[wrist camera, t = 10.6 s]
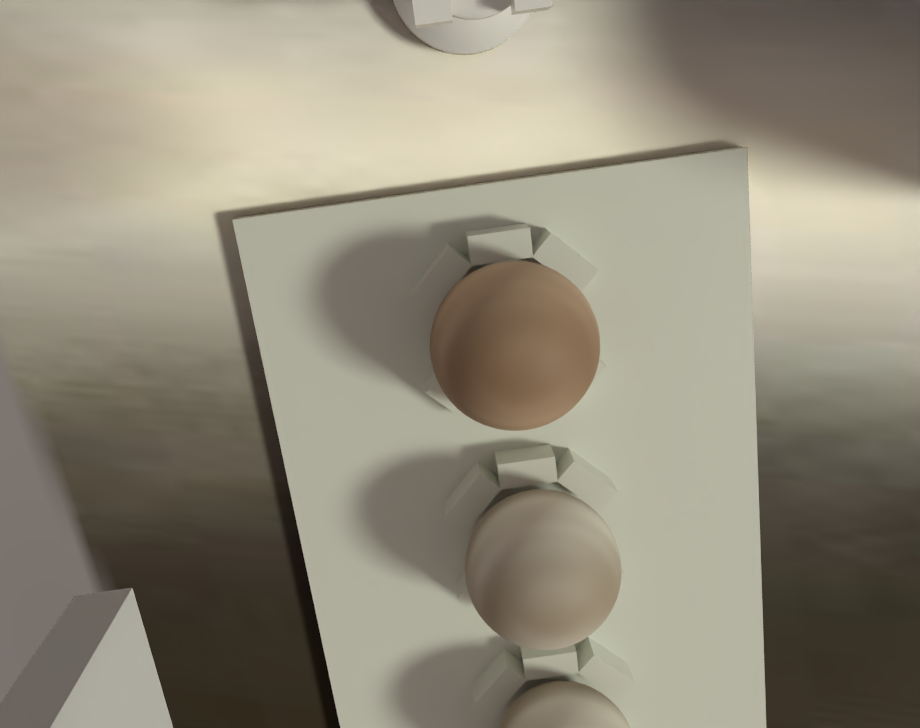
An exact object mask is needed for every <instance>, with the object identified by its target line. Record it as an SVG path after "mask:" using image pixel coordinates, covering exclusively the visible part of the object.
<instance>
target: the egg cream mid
mask: <svg viewBox="0 0 920 728" xmlns="http://www.w3.org/2000/svg"><path fill="white" fill-rule="evenodd" d="M621 577H622V571H621V558H620V553H619V549H618V546H617V543H616V540H615V538H614V536H613V534H612V532H611V530H610V528H609V527H608V525H607V524H606V522H605V521H604V520H603V518H602V517H601V516H600V515H599V514H598V513H597V512H596V511H595V510H594V509H593V508H591V507H590V506H589V505H588V504H587V503H585V502H583V501H582V500H580V499H578V498H576V497H574V496H572V495H569V494H567V493H564V492H560V491H556V490H549V489H536V490H528V491H523V492H519V493H516V494H513V495H511V496H509V497H507V498H505V499H503V500H501V501H500V502H498V503H497V504H495V505H494V506H493V507H492V508H491V509H489V510H488V511H487V513H486V514H485V515H484V516H483V517H482V518H481V520H480V521H479V522H478V524H477V525H476V527H475V529H474V531H473V533H472V535H471V537H470V540H469V543H468V546H467V550H466V555H465V580H466V585H467V589H468V593H469V596H470V599H471V601H472V603H473V605H474V607H475V609H476V611H477V612H478V614H479V615H480V617H481V618H482V619H483V621H484V622H485V623H486V624H487V625H488V626H489V627H490V628H491V629H492V630H493V631H494V632H496V633H497V634H498V635H500V636H501V637H503V638H504V639H506V640H508V641H510V642H511V643H514V644H516V645H519V646H522V647H526V648H530V649H537V650H554V649H560V648H565V647H568V646H571V645H573V644H576V643H578V642H580V641H582V640H583V639H585V638H587V637H588V636H589V635H591V634H592V633H593V632H595V631H596V630H597V629H598V628H599V627H600V626H601V625H602V624H603V622H604V621H605V620H606V619H607V617H608V616H609V614H610V612H611V611H612V609H613V607H614V605H615V602H616V600H617V597H618V594H619V590H620V585H621Z"/></svg>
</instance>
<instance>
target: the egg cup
mask: <svg viewBox="0 0 920 728" xmlns="http://www.w3.org/2000/svg"><path fill="white" fill-rule="evenodd" d="M393 2H394V5H395V8H396V10H397V12H398V14H399V16H400V17H401V19H402V21H403V22H404V24H405V25H406V26H407V27H408V29H409V30H410V31H411V32H412V33H413V34H414V35H415V36H416V37H417V38H418V39H420V40H421V41H422V42H424V43H425V44H427V45H429V46H430V47H432V48H434V49H436V50H439V51H442V52H445V53H450V54H455V55H473V54H478V53H482V52H485V51H488V50H491V49H493V48H495V47H497V46H499V45H500V44H502V43H503V42H505V41H506V40H508V39H509V38H510V37H511V36H512V35H513V34H515V33H516V32H517V31H518V30H519V29H520V27H521V26H522V25H523V24H524V23H525V21H526V20H527V18H528V17H529V15H530V13H531V12H537V11H544V10H549V9H550V8H551V7H552V6H553V3H552V0H393Z"/></svg>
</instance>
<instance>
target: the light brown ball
mask: <svg viewBox="0 0 920 728" xmlns="http://www.w3.org/2000/svg"><path fill="white" fill-rule="evenodd" d="M599 356H600V335H599V328H598V324H597V321H596V318H595V315H594V313H593V311H592V309H591V306H590V304H589V303H588V301H587V299H586V298H585V296H584V295H583V294H582V292H581V291H580V290H579V289H578V288H577V287H576V286H575V285H574V284H573V283H572V282H571V281H570V280H569V279H567V278H566V277H565V276H563V275H562V274H560V273H559V272H557V271H555V270H553V269H551V268H549V267H547V266H544V265H541V264H538V263H533V262H528V261H503V262H498V263H493V264H490V265H487V266H484V267H482V268H480V269H478V270H476V271H473V272H472V273H470V274H469V275H467V276H466V277H464V278H463V279H462V280H460V281H459V282H458V283H457V284H456V285H455V286H454V287H453V288H452V289H451V290H450V291H449V292H448V294H447V295H446V296H445V298H444V299H443V301H442V302H441V304H440V306H439V308H438V310H437V312H436V315H435V318H434V321H433V324H432V329H431V334H430V358H431V362H432V367H433V371H434V374H435V376H436V379H437V382H438V383H439V385H440V387H441V389H442V391H443V392H444V394H445V395H446V396H447V398H448V399H449V400H450V401H451V402H452V404H453V405H454V406H455V407H456V408H457V409H458V410H460V411H461V412H462V413H463V414H465V415H466V416H468V417H469V418H471V419H472V420H474V421H476V422H478V423H481V424H483V425H485V426H489V427H492V428H495V429H500V430H507V431H522V430H530V429H535V428H539V427H542V426H545V425H547V424H549V423H552V422H554V421H556V420H557V419H559V418H561V417H562V416H564V415H565V414H566V413H568V412H569V411H570V410H571V409H573V408H574V407H575V405H576V404H577V403H578V402H579V401H580V400H581V399H582V397H583V396H584V395H585V393H586V392H587V390H588V388H589V387H590V385H591V383H592V381H593V379H594V376H595V374H596V371H597V367H598V363H599Z"/></svg>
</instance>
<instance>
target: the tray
mask: <svg viewBox="0 0 920 728" xmlns="http://www.w3.org/2000/svg"><path fill="white" fill-rule="evenodd" d="M232 221H233V226H234V230H235V235H236V240H237V245H238V249H239V254H240V259H241V263H242V268H243V273H244V278H245V282H246V287H247V292H248V296H249V301H250V306H251V310H252V315H253V320H254V325H255V329H256V334H257V339H258V343H259V348H260V353H261V357H262V362H263V367H264V372H265V376H266V381H267V386H268V390H269V395H270V400H271V405H272V409H273V414H274V419H275V423H276V428H277V433H278V437H279V442H280V447H281V452H282V456H283V461H284V466H285V470H286V475H287V480H288V485H289V489H290V494H291V499H292V503H293V508H294V513H295V517H296V522H297V527H298V532H299V536H300V541H301V546H302V550H303V555H304V560H305V565H306V569H307V574H308V579H309V583H310V588H311V593H312V597H313V602H314V607H315V612H316V616H317V621H318V626H319V630H320V635H321V640H322V644H323V649H324V654H325V659H326V663H327V668H328V673H329V677H330V682H331V687H332V692H333V696H334V701H335V706H336V710H337V715H338V720H339V724H340V728H498V726H499V724H500V721H501V719H502V717H503V715H504V714H505V712H506V711H507V709H508V708H509V706H510V705H511V704H512V703H513V702H514V701H515V700H516V699H517V698H518V697H519V696H520V695H522V694H523V693H524V692H526V691H527V690H529V689H530V688H532V687H534V686H537V685H539V684H542V683H545V682H550V681H559V680H563V681H573V682H578V683H581V684H585V685H587V686H590V687H592V688H594V689H596V690H597V691H599V692H601V693H602V694H604V695H605V696H606V697H608V698H609V699H610V700H611V701H612V702H613V703H614V704H615V705H616V706H617V707H618V708H619V710H620V711H621V712H622V714H623V715H624V717H625V718H626V720H627V722H628V724H629V726H630V728H766V705H765V674H764V643H763V613H762V582H761V551H760V521H759V490H758V459H757V429H756V398H755V367H754V337H753V306H752V275H751V245H750V214H749V183H748V153H747V147H733V148H726V149H719V150H712V151H705V152H698V153H691V154H683V155H676V156H669V157H662V158H655V159H648V160H641V161H634V162H627V163H620V164H613V165H605V166H598V167H591V168H584V169H577V170H570V171H563V172H556V173H549V174H542V175H534V176H527V177H520V178H513V179H506V180H499V181H492V182H485V183H478V184H471V185H464V186H456V187H449V188H442V189H435V190H428V191H421V192H414V193H407V194H400V195H393V196H385V197H378V198H371V199H364V200H357V201H350V202H343V203H336V204H329V205H322V206H314V207H307V208H300V209H293V210H286V211H279V212H272V213H265V214H258V215H251V216H244V217H236V218H235V219H233V220H232ZM503 261H528V262H533V263H538V264H541V265H544V266H547V267H549V268H551V269H553V270H555V271H557V272H559V273H560V274H562V275H563V276H565V277H566V278H567V279H569V280H570V281H571V282H572V283H573V284H574V285H575V286H576V287H577V288H578V289H579V290H580V291H581V292H582V294H583V295H584V296H585V298H586V299H587V301H588V303H589V304H590V306H591V309H592V311H593V313H594V315H595V318H596V321H597V324H598V328H599V335H600V356H599V363H598V367H597V371H596V374H595V376H594V379H593V381H592V383H591V385H590V387H589V388H588V390H587V392H586V393H585V395H584V396H583V397H582V399H581V400H580V401H579V402H578V403H577V404H576V405H575V407H574V408H573V409H571V410H570V411H569V412H568V413H566V414H565V415H564V416H562V417H561V418H559V419H557V420H556V421H554V422H552V423H549V424H547V425H545V426H542V427H539V428H535V429H530V430H522V431H507V430H500V429H495V428H492V427H489V426H485V425H483V424H481V423H478V422H476V421H474V420H472V419H471V418H469V417H468V416H466V415H465V414H463V413H462V412H461V411H460V410H458V409H457V408H456V407H455V406H454V405H453V404H452V402H451V401H450V400H449V399H448V398H447V396H446V395H445V394H444V392H443V391H442V389H441V387H440V385H439V383H438V382H437V379H436V376H435V374H434V371H433V367H432V362H431V358H430V334H431V329H432V324H433V321H434V318H435V315H436V312H437V310H438V308H439V306H440V304H441V302H442V301H443V299H444V298H445V296H446V295H447V294H448V292H449V291H450V290H451V289H452V288H453V287H454V286H455V285H456V284H457V283H458V282H459V281H460V280H462V279H463V278H464V277H466V276H467V275H469V274H470V273H472V272H473V271H476V270H478V269H480V268H482V267H484V266H487V265H490V264H493V263H498V262H503ZM536 489H549V490H556V491H560V492H564V493H567V494H569V495H572V496H574V497H576V498H578V499H580V500H582V501H583V502H585V503H587V504H588V505H589V506H590V507H591V508H593V509H594V510H595V511H596V512H597V513H598V514H599V515H600V516H601V517H602V518H603V520H604V521H605V522H606V524H607V525H608V527H609V528H610V530H611V532H612V534H613V536H614V538H615V540H616V543H617V546H618V549H619V553H620V558H621V571H622V577H621V585H620V590H619V594H618V597H617V600H616V602H615V605H614V607H613V609H612V611H611V612H610V614H609V616H608V617H607V619H606V620H605V621H604V622H603V624H602V625H601V626H600V627H599V628H598V629H597V630H596V631H595V632H593V633H592V634H591V635H589V636H588V637H587V638H585V639H583V640H582V641H580V642H578V643H576V644H573V645H571V646H568V647H565V648H560V649H554V650H537V649H530V648H526V647H522V646H519V645H516V644H514V643H511V642H510V641H508V640H506V639H504V638H503V637H501V636H500V635H498V634H497V633H496V632H494V631H493V630H492V629H491V628H490V627H489V626H488V625H487V624H486V623H485V622H484V621H483V619H482V618H481V617H480V615H479V614H478V612H477V611H476V609H475V607H474V605H473V603H472V601H471V599H470V596H469V593H468V589H467V585H466V580H465V555H466V550H467V546H468V543H469V540H470V537H471V535H472V533H473V531H474V529H475V527H476V525H477V524H478V522H479V521H480V520H481V518H482V517H483V516H484V515H485V514H486V513H487V511H488V510H489V509H491V508H492V507H493V506H494V505H495V504H497V503H498V502H500V501H501V500H503V499H505V498H507V497H509V496H511V495H513V494H516V493H519V492H523V491H528V490H536Z"/></svg>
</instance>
